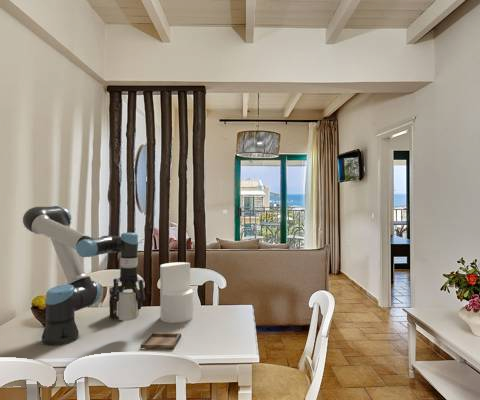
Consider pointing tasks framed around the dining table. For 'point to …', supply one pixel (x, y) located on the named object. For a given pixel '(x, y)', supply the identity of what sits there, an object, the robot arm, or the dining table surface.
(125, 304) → the grey upright rounded piece
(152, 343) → the tray
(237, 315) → the dining table surface
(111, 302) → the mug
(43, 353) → the dining table surface
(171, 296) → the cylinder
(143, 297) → the robot arm
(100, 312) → the dining table surface
